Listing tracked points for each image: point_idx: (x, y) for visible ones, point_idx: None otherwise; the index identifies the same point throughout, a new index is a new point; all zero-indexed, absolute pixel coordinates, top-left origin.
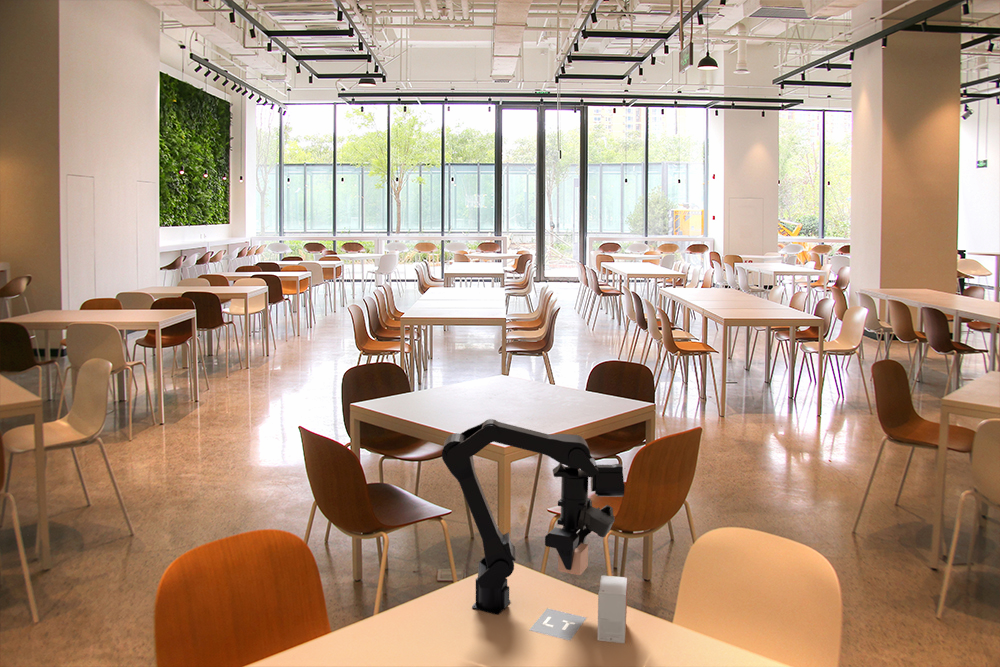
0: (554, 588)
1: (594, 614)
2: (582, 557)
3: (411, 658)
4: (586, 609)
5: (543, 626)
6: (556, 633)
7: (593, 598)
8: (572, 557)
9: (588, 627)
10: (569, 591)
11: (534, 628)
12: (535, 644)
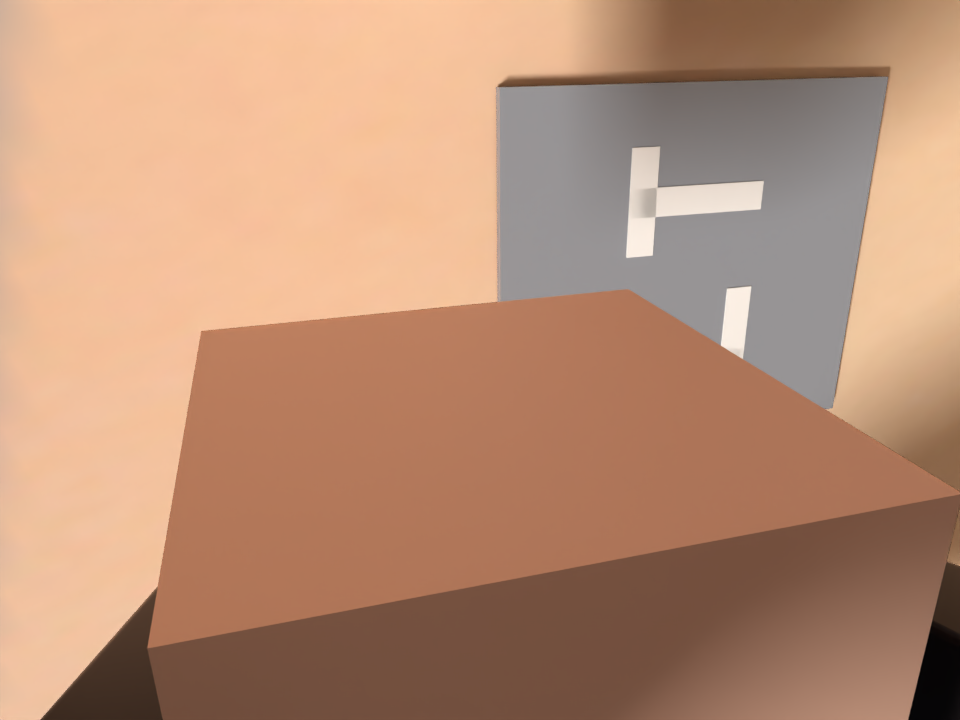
0: (115, 585)
1: (380, 43)
2: (679, 426)
3: None
4: (327, 158)
5: (761, 348)
6: (824, 219)
7: (55, 181)
8: (943, 576)
9: (631, 12)
10: (77, 454)
11: (803, 388)
12: (955, 289)
